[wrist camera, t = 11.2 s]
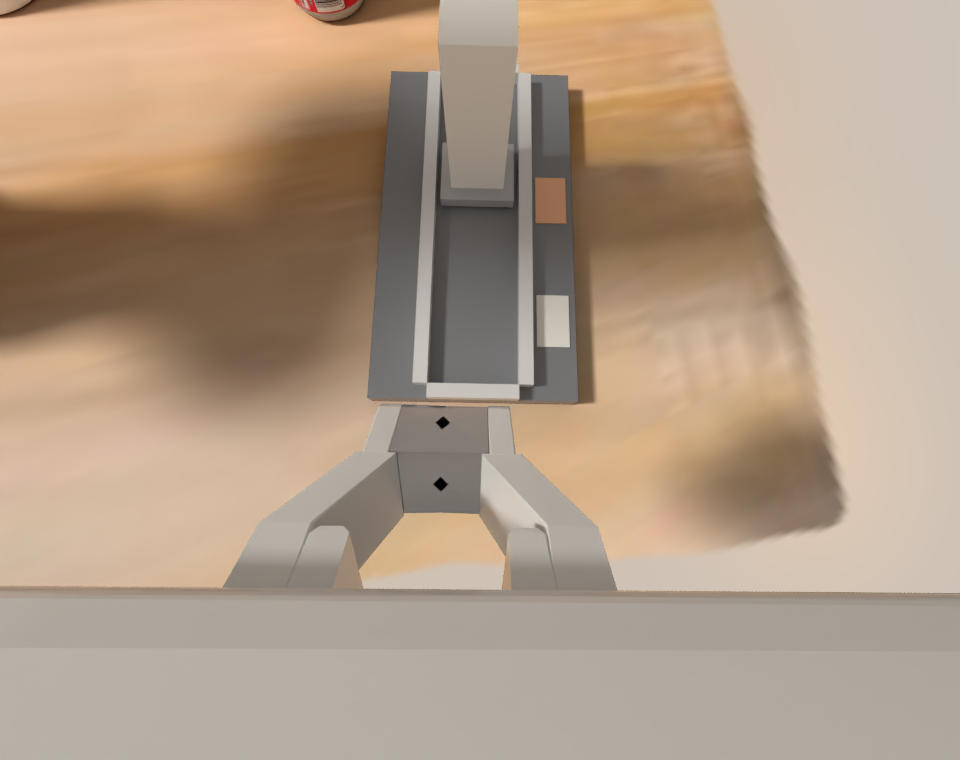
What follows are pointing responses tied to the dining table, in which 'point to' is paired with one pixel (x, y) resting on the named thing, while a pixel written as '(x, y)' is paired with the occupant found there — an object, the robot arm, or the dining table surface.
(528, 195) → the switch panel
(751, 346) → the dining table surface
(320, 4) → the soda can
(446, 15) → the lever
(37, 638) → the robot arm
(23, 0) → the fruit juice
